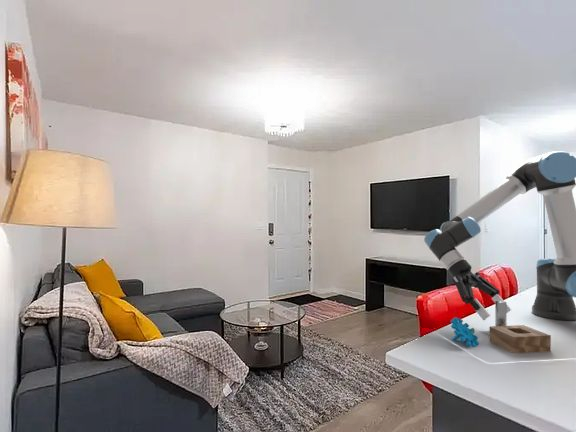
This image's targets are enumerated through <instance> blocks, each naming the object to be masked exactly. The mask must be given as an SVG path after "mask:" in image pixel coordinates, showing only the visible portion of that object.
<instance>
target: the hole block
mask: <svg viewBox="0 0 576 432" xmlns="http://www.w3.org/2000/svg"><path fill="white" fill-rule="evenodd" d="M489 331H490V337H489V342H490V343H492V344H494V345H496V346H498V347H500V348H502V349H504V350H506V351H508V352H510V353H513V354H525V353H542V352H546V353H547V352H551V351H552V347H551V346H552V344H551V341H552V340H551V339H552V337H551V336H552V335H550V334H548V333H546V332H543V331H540V330H537V329H534V328H532V327H529V326H527V325H525V324H517V325H516V324H515V325H507V326H490V325H489Z"/></svg>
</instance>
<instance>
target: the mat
mask: <svg viewBox="0 0 576 432" xmlns="http://www.w3.org/2000/svg"><path fill="white" fill-rule="evenodd" d="M479 333H481V334H484V335H485V336H488V338H490V330H483V331H482V330H481V331H479Z"/></svg>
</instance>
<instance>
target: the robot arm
mask: <svg viewBox="0 0 576 432" xmlns="http://www.w3.org/2000/svg"><path fill="white" fill-rule="evenodd" d="M575 178H576V157H575V156H574V155H573V154H571V153H569V152H567V151H561V150H560V151H558V150H557V151H549V152H547V153H545V154H542V155H541V154H540V155H538V156H535V157H532V158H530V159H528V160H526V161H525V162H523V163H522V164H521V165H519V166H518V167H517V168H516V169H514V170H513V171H512V172H510V174H508V175H507V176H506V178H505V180H504V181H503V182H501V183H500V184H499V185H498V186H496V187H494V188H493V189H492V190H490V191H489V192H487V193H486V194H485V195H484V196H482V197H481V198H479V199H478V200H477V201H475V202H473V204H471V205H470V206H468V207H466V208H465V209H464V210H463V211H461V212H460V213H458V214H457V215H456V216H454V217H453V218H451V219H450V220H447V221H445V222H443V223H442V224H441V225H440V228H439V229H438V228H435V229H433V230H430V231H429V232H428V233H427V234H425V236H424V241H423V242H424V243H425V245H427V248H429V250H430V251H431V252H432V253H433V255H434V256H435V257H436V258H437V260H438V261H439V262H440V263H441V265H442V267H443V268H445V269H446V270H447V271H448V273H449V274H450V276H451V277H452V282H453V283H454V284H455V287H456V289H457V291H458V294H459V296H460V299H461V301H462V302H464V304H466V305H469V304H470V306H471V307H472V308H473V310H474V311H475V312H476V313H477V315H478V316H479V317H480V318H481V320H482V321H485V320H486V319H488V318H489V317H491V314H490V313H489V312H488V310H487V309H486V308H485V307H484V306H483V305H482V304H481V302H480V301H479V300H478V298H475V297H474V292H473V288H475V289H479V290H480V291H482V292H483V293H485V294H486V295H488V296H489V297H491V300H492V301H493V303H495V301H504V302H505V300H504V299H503V298H502V297H501V296H500V295H499V294H500V293H501V291H500V289H498V288H497V287H496V286H495V285H494V284H492V283H490V282H489V281H488V279H486V278H484V277H483V276H482V275H481V274H480V273H479V272H478V271H476V272H475V273H473V272H472V265H471V264H470V263H469V262H468V261H467V260H466V259H465V258H464V256H463V255H462V254H461V252H459V250H458V249H457V248H458V247H459V246H461V245H463V244H464V243H466V242H467V241H469V240H471V239H473V238H475V237H476V236H478V235H479V234H480V233H481V231H482V230H481V226H480V225H479V224H480V222H483V220H485V219H486V218H488V217H489V216H490V215H491V214H493V213H495V212H496V211H497V210H499V209H500V208H502V207H503V206H504V205H506V204H508V203H509V202H510V201H512V200H513V199H514V198H516V197H517V196H519V195H525V194H526V193H527V192H529V191H531V190H533V189H535V188H536V191H537V193H538V194H540V195H541V196H542V198H543V201H544V204H545V208H546V214H547V218H548V221H549V222H548V223H549V226H550V231H551V235H552V239H553V244H554V249H555V253H556V258H539V259H538V260H537V262H536V267H535V268H536V296H535V298H534V303H533V305H531V313H532V314H534V315H536V316H539V317H542V318H547V319H553V320H561V321H576V303H575V301H574V298H575V299H576V203H575V202H576V201H575V198H574V195H573V189H574V188H575V187H576V179H575ZM511 311H512V309H511V307H510V306H509V305H508V304H507V303H506V312H507V314H508V313H509V312H511Z"/></svg>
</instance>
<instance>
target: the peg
mask: <svg viewBox="0 0 576 432" xmlns="http://www.w3.org/2000/svg"><path fill="white" fill-rule="evenodd" d="M494 304H495V306H494V307H495V310H494V311H495V314H494V315H495V316H494V317H495V318H494V319H495V320H494V321H495V326H508V325H507V324H508V323H507V316H508V315H507V314H508V313H507V312H506V304H507V302H506V301H505V300H504V301H495V302H494Z"/></svg>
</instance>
